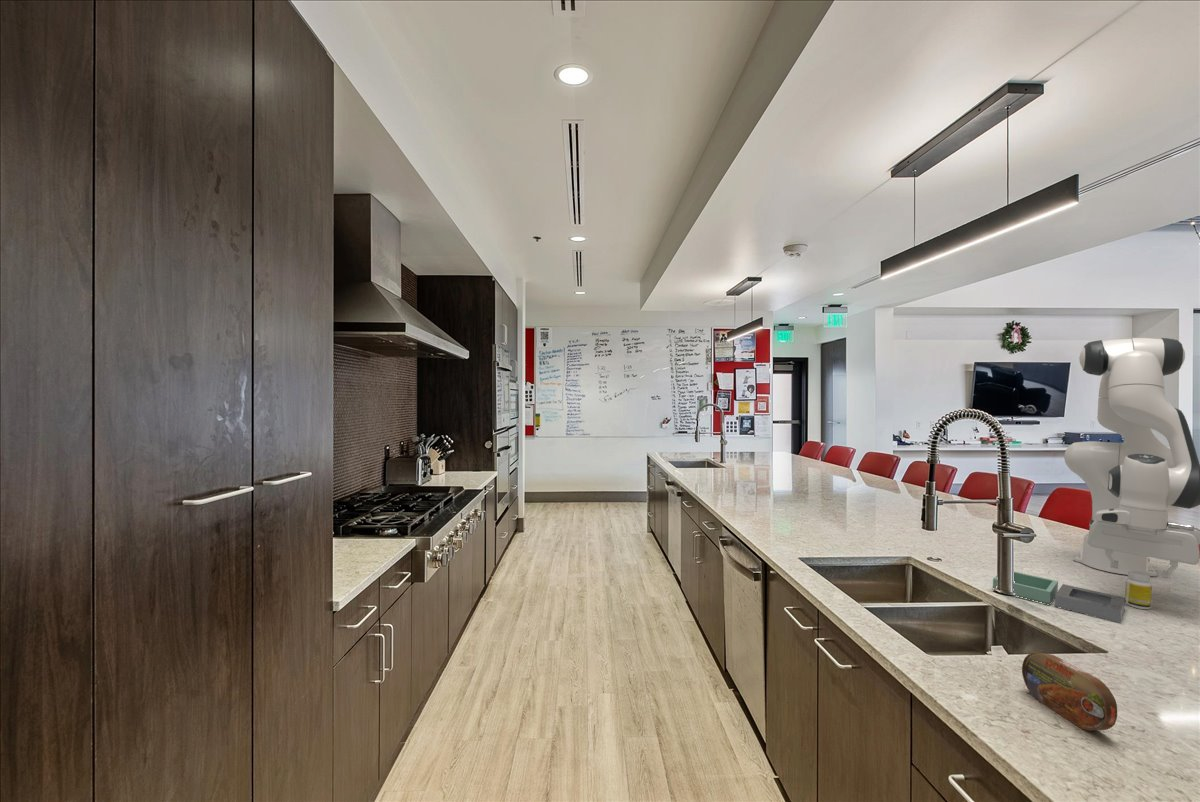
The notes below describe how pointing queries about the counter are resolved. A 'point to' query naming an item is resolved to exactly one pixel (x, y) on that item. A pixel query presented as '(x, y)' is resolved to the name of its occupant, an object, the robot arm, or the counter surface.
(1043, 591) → the tray
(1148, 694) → the counter surface
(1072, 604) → the grey slotted block
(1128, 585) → the supplement bottle
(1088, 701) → the tin
